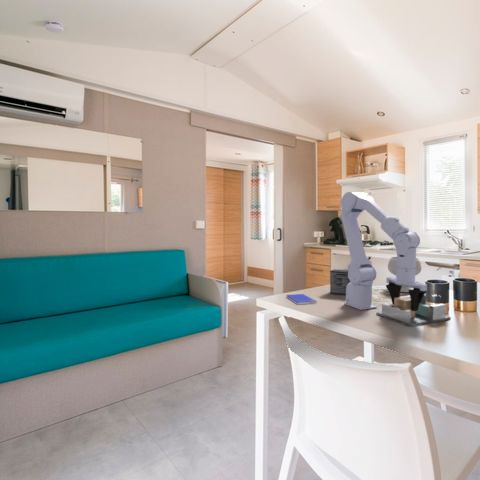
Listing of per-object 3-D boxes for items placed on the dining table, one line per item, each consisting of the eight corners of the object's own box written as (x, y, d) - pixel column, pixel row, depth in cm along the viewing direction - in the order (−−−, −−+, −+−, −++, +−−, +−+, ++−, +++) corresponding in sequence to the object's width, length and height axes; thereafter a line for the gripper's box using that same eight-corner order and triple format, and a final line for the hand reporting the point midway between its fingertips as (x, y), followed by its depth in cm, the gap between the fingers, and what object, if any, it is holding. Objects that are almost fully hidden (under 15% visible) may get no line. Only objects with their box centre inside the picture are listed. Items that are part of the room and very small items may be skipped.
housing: (393, 315, 112) (394, 297, 112) (403, 313, 114) (404, 296, 113) (404, 318, 108) (405, 300, 108) (414, 317, 110) (415, 299, 109)
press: (376, 314, 116) (376, 299, 115) (414, 308, 123) (414, 294, 122) (410, 326, 103) (410, 310, 102) (450, 319, 110) (451, 303, 109)
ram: (403, 309, 118) (403, 293, 117) (411, 308, 119) (412, 292, 119) (428, 317, 108) (428, 299, 108) (437, 315, 110) (438, 298, 110)
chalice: (401, 294, 144) (402, 260, 143) (380, 287, 158) (381, 257, 157) (427, 292, 148) (429, 259, 147) (405, 286, 161) (406, 256, 160)
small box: (357, 293, 147) (357, 270, 146) (353, 296, 142) (354, 272, 141) (333, 290, 153) (334, 268, 152) (329, 293, 147) (329, 270, 147)
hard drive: (317, 300, 131) (303, 293, 143) (298, 302, 129) (286, 294, 141) (316, 304, 131) (303, 297, 143) (298, 305, 129) (286, 298, 141)
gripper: (380, 265, 115) (379, 303, 116) (416, 272, 102) (414, 314, 103) (395, 264, 118) (394, 301, 119) (432, 270, 104) (430, 312, 105)
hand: (404, 307), depth 111 cm, fingers open, 7 cm apart
